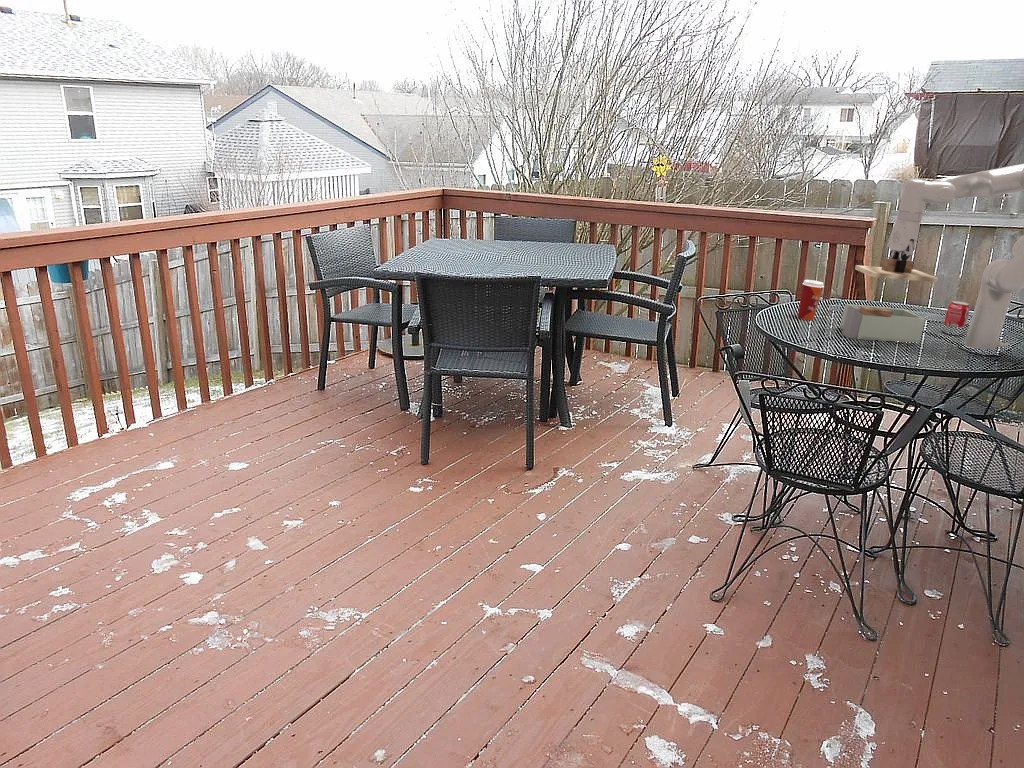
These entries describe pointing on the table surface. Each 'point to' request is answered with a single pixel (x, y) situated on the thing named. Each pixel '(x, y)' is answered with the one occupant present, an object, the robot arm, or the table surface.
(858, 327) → the toolbox
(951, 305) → the soda can
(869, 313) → the wooden block
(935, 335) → the table surface
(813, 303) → the paper cup
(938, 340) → the table surface
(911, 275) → the lid
